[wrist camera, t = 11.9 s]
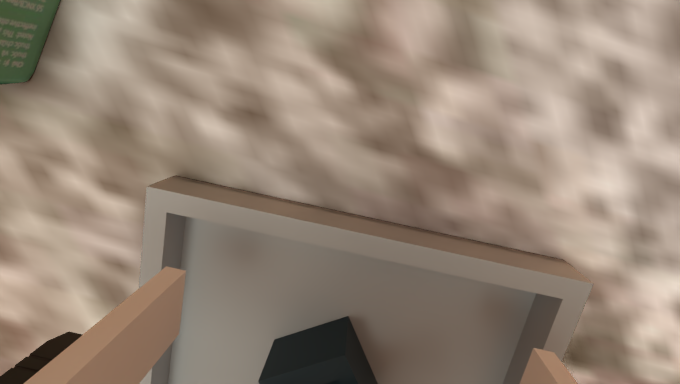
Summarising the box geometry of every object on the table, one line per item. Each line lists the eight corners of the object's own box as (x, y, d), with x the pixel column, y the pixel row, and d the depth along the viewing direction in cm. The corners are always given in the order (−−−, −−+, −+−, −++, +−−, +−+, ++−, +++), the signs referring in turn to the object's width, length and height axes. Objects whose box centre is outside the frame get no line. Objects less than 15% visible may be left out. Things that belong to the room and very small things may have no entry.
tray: (462, 524, 23) (473, 574, 20) (148, 451, 23) (122, 492, 21) (563, 260, 19) (593, 283, 16) (174, 175, 19) (146, 186, 16)
